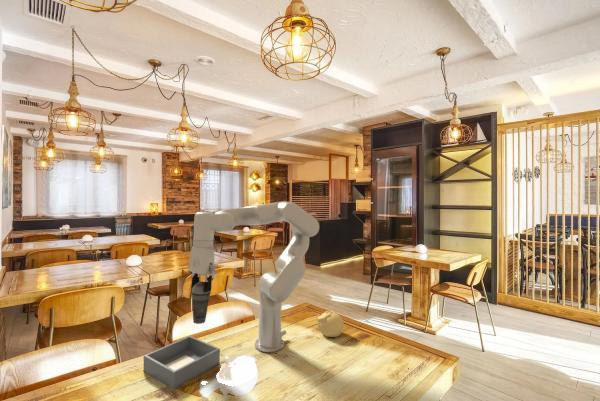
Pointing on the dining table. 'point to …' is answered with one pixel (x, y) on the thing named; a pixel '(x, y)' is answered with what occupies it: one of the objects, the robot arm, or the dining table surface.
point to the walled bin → (181, 361)
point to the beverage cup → (199, 302)
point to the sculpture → (330, 324)
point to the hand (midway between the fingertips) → (201, 289)
